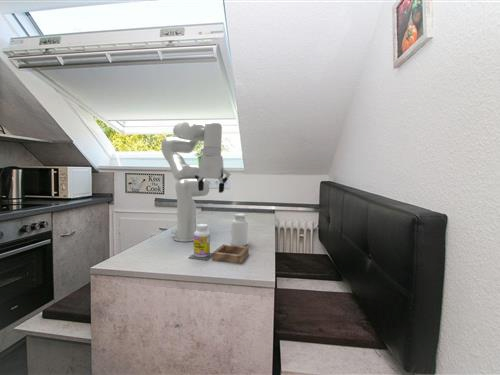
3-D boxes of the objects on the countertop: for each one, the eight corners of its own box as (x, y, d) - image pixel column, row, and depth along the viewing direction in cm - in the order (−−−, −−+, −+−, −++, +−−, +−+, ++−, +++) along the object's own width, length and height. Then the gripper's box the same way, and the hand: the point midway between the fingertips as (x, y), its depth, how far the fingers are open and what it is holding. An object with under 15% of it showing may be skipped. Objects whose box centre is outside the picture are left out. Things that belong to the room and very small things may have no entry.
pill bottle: (240, 247, 111) (241, 216, 110) (227, 244, 115) (228, 214, 115) (250, 244, 117) (251, 214, 116) (238, 240, 122) (238, 212, 121)
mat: (188, 258, 95) (188, 257, 95) (197, 252, 103) (197, 251, 103) (206, 260, 94) (206, 259, 93) (214, 254, 101) (214, 253, 101)
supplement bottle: (190, 256, 96) (190, 225, 96) (199, 251, 103) (199, 222, 102) (204, 258, 94) (205, 227, 93) (212, 253, 100) (213, 224, 100)
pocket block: (212, 260, 94) (212, 253, 94) (222, 250, 106) (223, 244, 105) (240, 263, 91) (240, 256, 91) (248, 253, 103) (248, 247, 102)
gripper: (189, 150, 100) (188, 190, 101) (227, 152, 95) (225, 193, 96) (198, 152, 107) (197, 189, 108) (234, 153, 102) (232, 192, 104)
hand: (210, 191), depth 102 cm, fingers open, 9 cm apart
